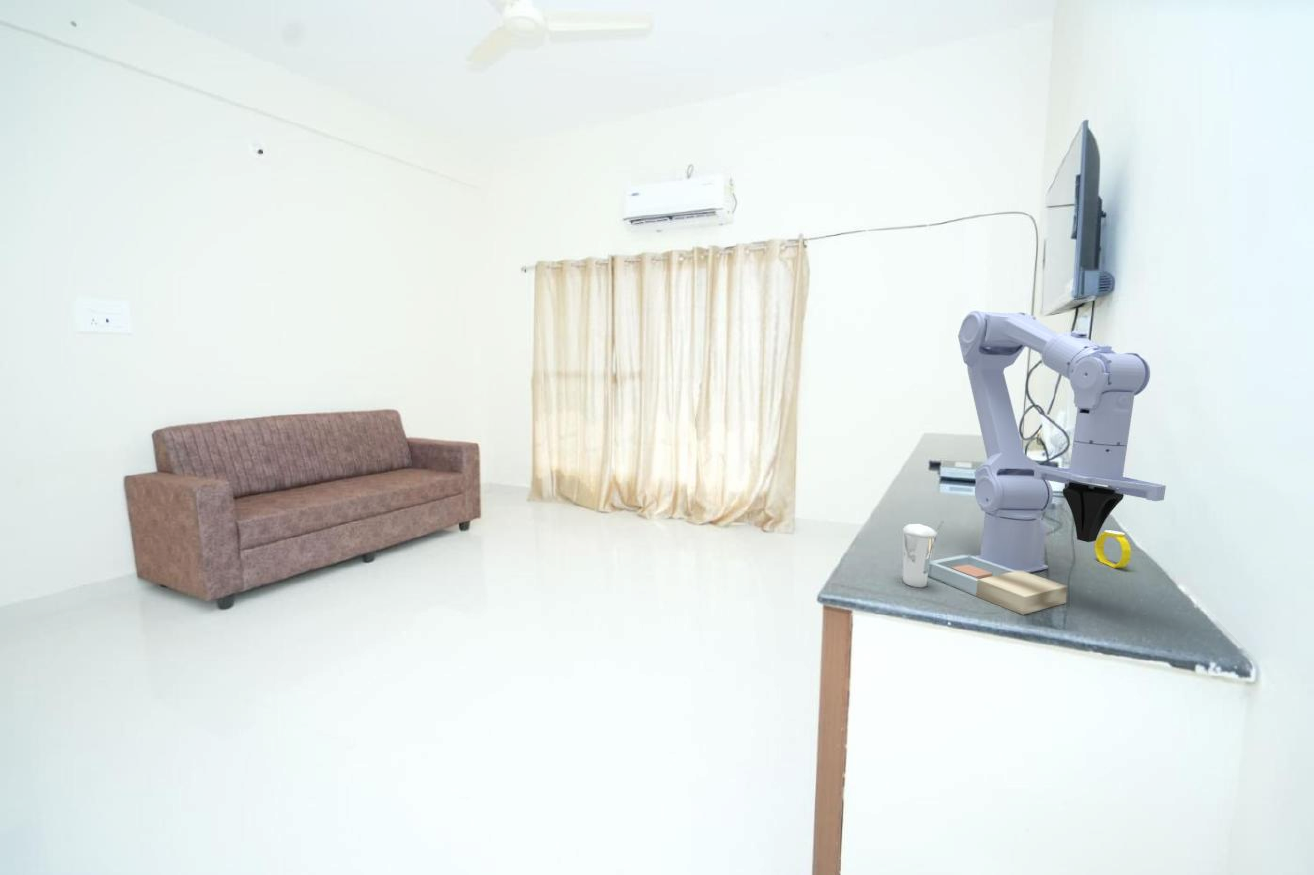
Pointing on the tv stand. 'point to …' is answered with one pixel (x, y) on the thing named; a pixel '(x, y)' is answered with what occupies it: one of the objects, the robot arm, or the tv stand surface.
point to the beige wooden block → (1021, 591)
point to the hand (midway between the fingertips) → (1086, 540)
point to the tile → (973, 571)
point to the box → (960, 580)
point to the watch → (1123, 543)
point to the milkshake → (917, 553)
